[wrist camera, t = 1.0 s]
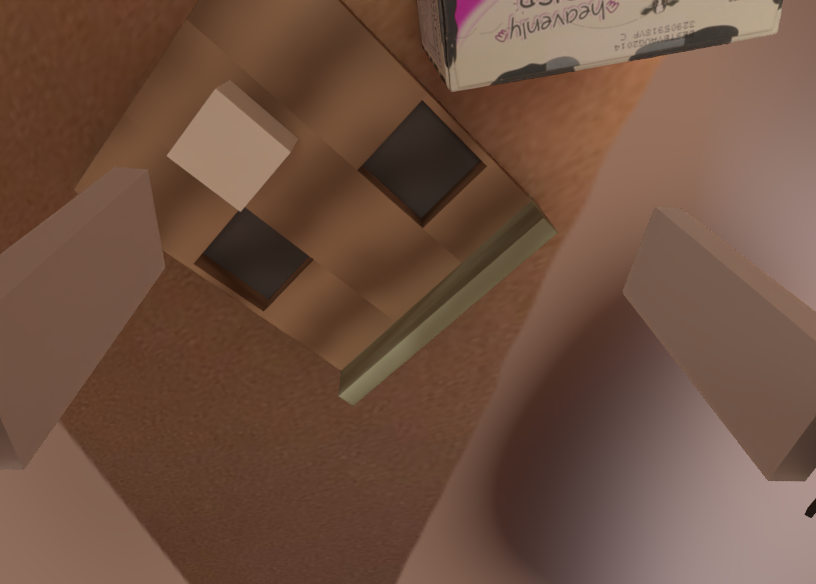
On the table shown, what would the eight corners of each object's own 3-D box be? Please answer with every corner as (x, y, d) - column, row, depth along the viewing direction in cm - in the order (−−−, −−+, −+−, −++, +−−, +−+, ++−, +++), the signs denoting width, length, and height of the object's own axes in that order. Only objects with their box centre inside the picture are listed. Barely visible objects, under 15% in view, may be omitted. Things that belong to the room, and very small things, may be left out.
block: (184, 142, 31) (166, 155, 29) (230, 79, 30) (215, 88, 27) (251, 194, 33) (240, 211, 31) (298, 138, 32) (290, 152, 29)
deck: (88, 180, 34) (46, 207, 30) (263, -81, 28) (241, -94, 23) (356, 364, 44) (353, 405, 39) (537, 204, 37) (557, 232, 32)
